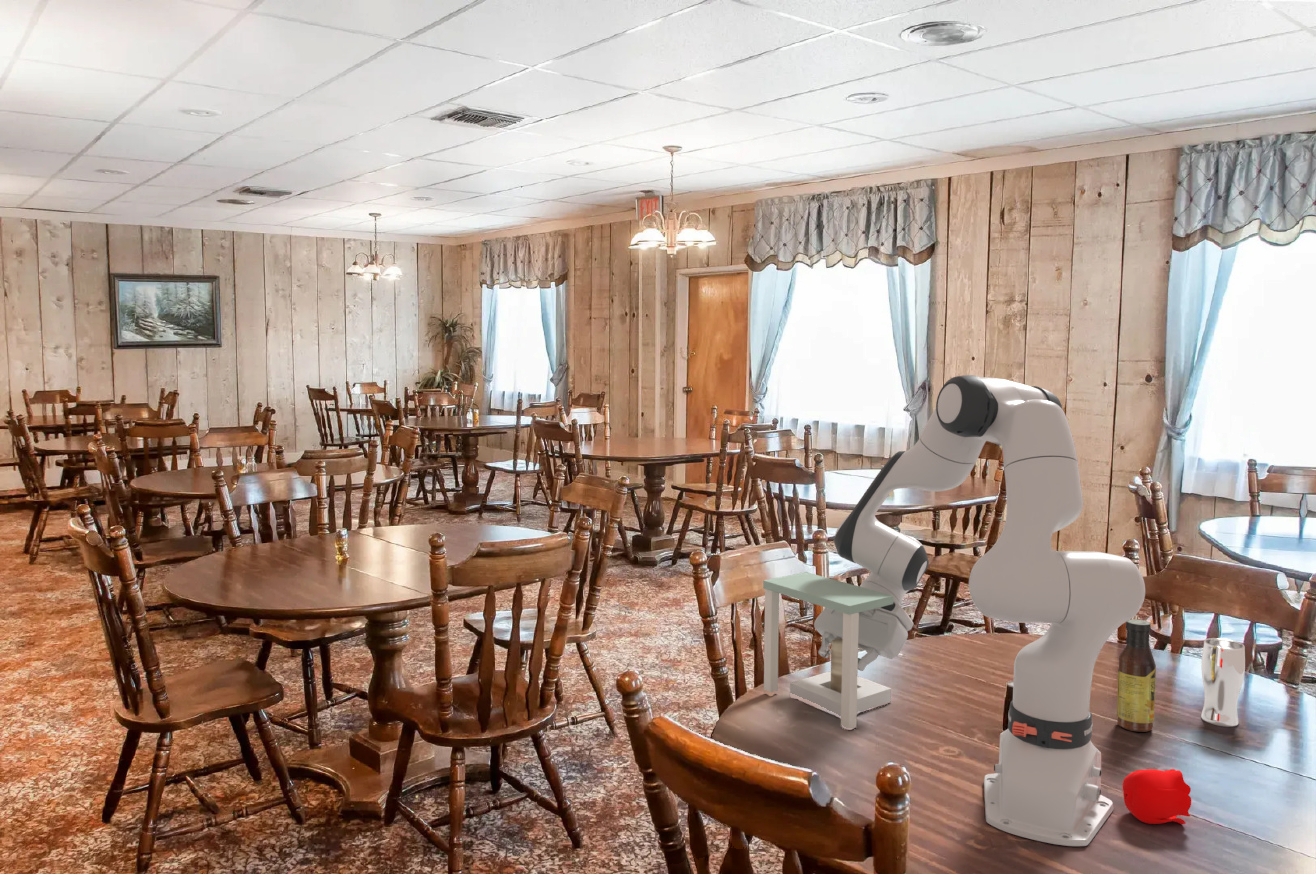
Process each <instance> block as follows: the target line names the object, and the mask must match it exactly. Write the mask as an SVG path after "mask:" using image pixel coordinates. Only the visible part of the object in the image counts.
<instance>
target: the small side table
mask: <svg viewBox="0 0 1316 874" xmlns="http://www.w3.org/2000/svg"><path fill="white" fill-rule="evenodd" d="M762 581H763V582H762V583H763V584H762V588H763V589H764V635H763V636H764V643H763V644H764V648H763V649H764V650H763V653H764V654H763V660H764V662H763V665H764V666H763V691H764V690H767V691H769V692H773V691H778V692H779V638H780V637H779V633H780V632H779V629H780V628H779V627H780V626H779V625H780V614H779V613H780V594H781V595H784V596H787V597H790V598H794V599H797V600H800V601H804V602H806V603H810V604H813V605H816V606H819V607H822V608H823V607H824V608H825V607H826V608H829V609H832V610H836V611H839V612H842V613H843V640H842V690H841V719H840V726H841V725H843V726H844V727H846V728H854V727H856V728H857V716H858V714H857V676H858V671H859V670H858V658H859V648H858V628H859V612H863V611H867V610H871V609H875V608H879V607H883V606H887V605H891V604H893V596H892V595H889V594H885V593H881V592H878V591H874V590H870V589H867V588H863V587H860V586H858V585H855V584H852V583H847V582H844V581H841V580H836V579H833V578H829V577H825V576H823V575H818V574H815V573H810V572H807V571H805V572H800V573H795V574H790V575H784V576H779V577H774V578H770V579H764V580H762Z"/></svg>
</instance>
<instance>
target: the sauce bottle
mask: <svg viewBox="0 0 1316 874" xmlns="http://www.w3.org/2000/svg"><path fill="white" fill-rule="evenodd" d="M1125 629H1126V640H1125V644H1126V645H1125V647H1124V648H1123V649H1122V651H1120V654H1119V657H1118V669H1117V690H1116V691H1117V692H1116V694H1117V695H1116V717H1117V724H1118V726H1120V727H1121V728H1122V729H1125V730H1128V731H1131V732H1137V733H1138V732H1140V733H1146V732H1150V731H1151V730H1152V729H1153V728H1154V723H1153V722H1154V721H1155V709H1156V708H1155V705H1156V702H1155V701H1156V700H1155V699H1156V682H1157V681H1156V679H1157V678H1156V676H1157V675H1156V673H1157V665H1156V662H1155V658H1154V656H1153V651H1152V649H1151V646H1150V632H1151V622H1150V621H1147V620H1143V619H1134V618H1133V619H1132V618H1131V619H1129V620H1128V621H1126V622H1125Z"/></svg>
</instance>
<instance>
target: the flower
mask: <svg viewBox="0 0 1316 874" xmlns="http://www.w3.org/2000/svg"><path fill="white" fill-rule="evenodd" d="M1191 789H1192V788H1191V787H1190V785H1189V784H1187V783H1186V782H1185V780H1184V775H1183V773H1182V771H1181V770H1178V769H1177V770H1176V769H1174V768H1172V769H1166V770H1160V769H1155V768H1154V769H1153V768H1150V769H1149V768H1148V769H1137V770H1135V771H1132V772H1130V773H1128V774H1127V775H1126V776H1125V777H1124V778H1123V780H1122V793H1123V794H1122V795H1123V796H1122V797H1123V801H1124V805H1125V807H1126V809H1127V810H1128V811H1129V812H1130V813H1131V814H1132V815H1133V817H1135V819H1137V820H1139V821H1140V822H1142V823H1144V824H1148V825H1156V824H1157V825H1158V824H1160V825H1161V824H1165V823H1170V822H1174V823H1177V824H1178V825H1179V824H1180V825H1185V824H1186V821H1185V820H1184V819H1183V818H1180V817H1179V818H1178V817H1177V816H1182V817H1183V816H1184V817H1191V814H1189V810H1190V809H1191V806H1192V797H1191V796H1190V793H1191V791H1192V790H1191Z"/></svg>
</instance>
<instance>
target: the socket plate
mask: <svg viewBox="0 0 1316 874" xmlns="http://www.w3.org/2000/svg"><path fill="white" fill-rule="evenodd" d="M830 688H831V670H830V671H826V672H822V673H819V674H816V675H813V676H809V677H806V678H802V679H798V680H795V681H791V682H790V684H789V694H790V693H792V694H795V695H797V696H799V697H802V698H803V699H807V700H809V701H811V702H813V703H816V704H818V705H820V706H821V707H824V708H826V709H827V710H829V711H832V712H834V713H836V714H838V715H839V716H841V693H839V692H836V691H834V690H831V689H830ZM890 701H891V702H892V688H891V687H889V686H885V685H884V684H880V683H878V682H875V681H872V680H870V679H867V678H866V677H861V676H858V675H857V712H858V711H864V710H867V709H869V708H872V707H876V706H878V705H881V704H883V703H887V702H890Z"/></svg>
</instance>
